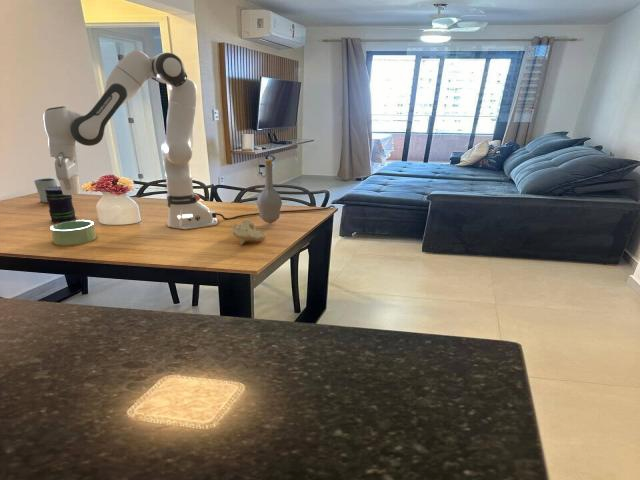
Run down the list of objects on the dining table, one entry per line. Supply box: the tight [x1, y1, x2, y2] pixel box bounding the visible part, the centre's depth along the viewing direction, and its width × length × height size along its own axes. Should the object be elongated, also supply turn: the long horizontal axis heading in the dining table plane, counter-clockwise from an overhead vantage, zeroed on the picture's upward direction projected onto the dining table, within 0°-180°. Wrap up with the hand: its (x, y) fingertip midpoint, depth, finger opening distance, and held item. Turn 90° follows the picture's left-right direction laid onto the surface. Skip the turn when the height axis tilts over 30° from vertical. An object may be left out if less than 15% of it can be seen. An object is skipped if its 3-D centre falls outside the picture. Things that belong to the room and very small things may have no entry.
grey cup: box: [33, 177, 58, 204], centre depth 212 cm, size 10×10×12 cm
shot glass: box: [58, 174, 81, 196], centre depth 149 cm, size 7×7×7 cm
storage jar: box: [45, 185, 77, 223], centre depth 177 cm, size 10×10×15 cm
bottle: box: [256, 159, 283, 225], centre depth 176 cm, size 11×11×30 cm
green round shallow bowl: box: [49, 219, 97, 247], centre depth 152 cm, size 15×15×6 cm
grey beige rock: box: [231, 218, 267, 246], centre depth 153 cm, size 15×7×15 cm
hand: (70, 187), depth 149 cm, fingers closed on shot glass, 5 cm apart
